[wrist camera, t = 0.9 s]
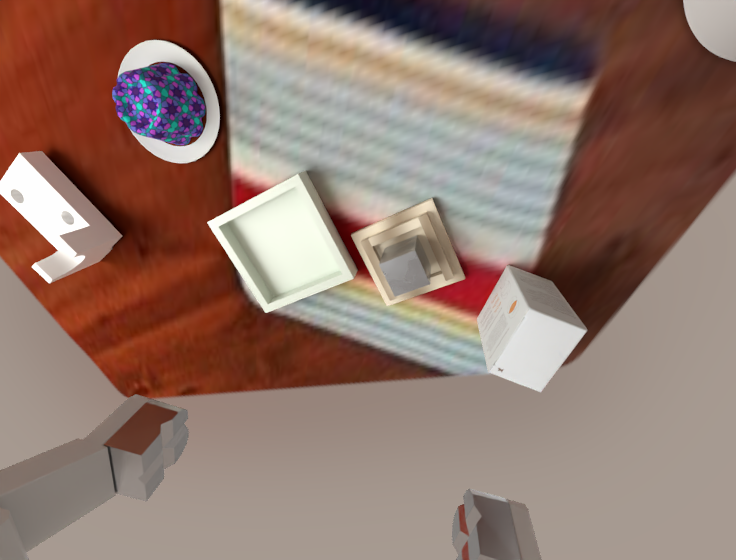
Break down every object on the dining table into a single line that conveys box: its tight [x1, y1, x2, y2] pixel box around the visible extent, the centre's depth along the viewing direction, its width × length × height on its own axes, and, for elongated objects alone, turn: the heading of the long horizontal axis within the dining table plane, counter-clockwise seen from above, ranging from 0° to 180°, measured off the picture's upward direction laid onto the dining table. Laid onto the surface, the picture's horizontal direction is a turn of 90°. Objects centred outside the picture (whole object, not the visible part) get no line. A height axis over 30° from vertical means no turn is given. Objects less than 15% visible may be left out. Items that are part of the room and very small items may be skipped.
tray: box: [207, 171, 358, 313], centre depth 42 cm, size 13×13×2 cm
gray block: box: [379, 235, 431, 297], centre depth 38 cm, size 4×4×5 cm
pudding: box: [112, 40, 220, 163], centre depth 37 cm, size 12×12×5 cm
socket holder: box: [351, 198, 465, 306], centre depth 40 cm, size 10×10×2 cm
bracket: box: [0, 151, 122, 283], centre depth 43 cm, size 13×7×8 cm, turn 36°
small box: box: [477, 265, 587, 392], centre depth 37 cm, size 8×6×10 cm
